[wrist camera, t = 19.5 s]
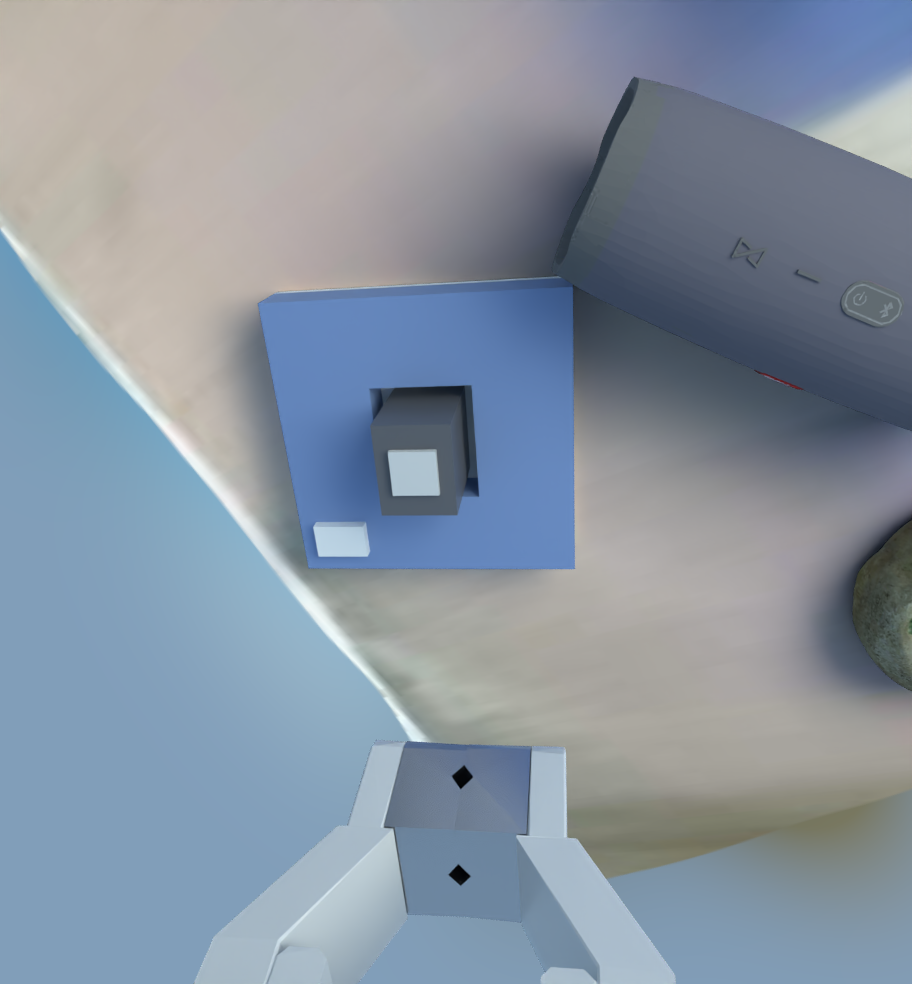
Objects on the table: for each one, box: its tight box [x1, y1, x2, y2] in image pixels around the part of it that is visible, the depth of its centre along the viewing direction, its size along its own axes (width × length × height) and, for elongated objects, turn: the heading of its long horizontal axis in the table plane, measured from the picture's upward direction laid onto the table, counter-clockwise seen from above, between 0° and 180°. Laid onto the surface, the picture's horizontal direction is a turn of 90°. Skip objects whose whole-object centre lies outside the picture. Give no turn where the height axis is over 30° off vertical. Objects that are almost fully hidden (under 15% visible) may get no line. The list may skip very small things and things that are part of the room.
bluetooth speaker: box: [552, 77, 912, 431], centre depth 32 cm, size 23×9×10 cm, turn 69°
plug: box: [370, 386, 470, 516], centre depth 39 cm, size 5×4×6 cm
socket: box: [258, 276, 575, 569], centre depth 41 cm, size 16×16×4 cm
